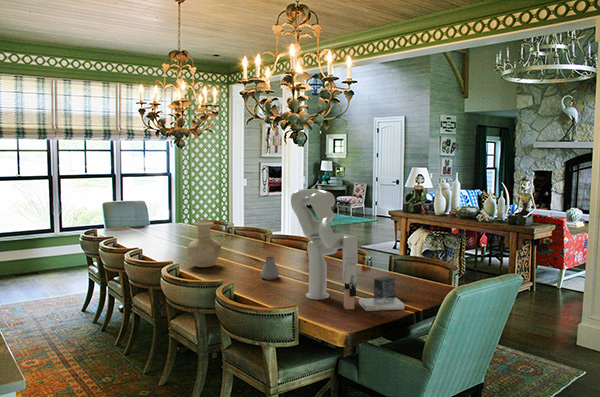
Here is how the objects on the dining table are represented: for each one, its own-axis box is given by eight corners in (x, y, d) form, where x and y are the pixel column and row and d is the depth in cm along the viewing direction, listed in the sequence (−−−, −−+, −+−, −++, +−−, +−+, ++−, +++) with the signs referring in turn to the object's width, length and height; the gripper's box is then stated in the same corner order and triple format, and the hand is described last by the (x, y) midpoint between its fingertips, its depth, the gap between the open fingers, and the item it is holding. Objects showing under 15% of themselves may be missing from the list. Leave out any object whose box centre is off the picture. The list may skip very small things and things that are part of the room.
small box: (386, 293, 272) (386, 275, 271) (395, 296, 267) (395, 277, 266) (373, 297, 265) (373, 278, 264) (382, 300, 260) (382, 280, 259)
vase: (221, 269, 324) (220, 225, 321) (186, 270, 321) (185, 225, 318) (221, 262, 346) (220, 220, 343) (188, 263, 343) (188, 220, 340)
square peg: (343, 306, 249) (343, 289, 248) (351, 306, 249) (352, 288, 248) (345, 309, 244) (345, 291, 243) (354, 308, 245) (354, 291, 244)
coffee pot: (271, 274, 312) (271, 251, 311) (282, 278, 303) (283, 254, 302) (243, 280, 298) (243, 256, 297) (254, 284, 290) (254, 259, 288)
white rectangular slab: (359, 303, 254) (359, 298, 253) (396, 302, 257) (396, 297, 257) (365, 310, 242) (365, 305, 242) (404, 309, 245) (404, 304, 245)
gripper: (338, 257, 252) (338, 290, 253) (347, 263, 235) (347, 299, 236) (352, 256, 253) (353, 289, 254) (362, 263, 236) (362, 298, 237)
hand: (350, 294), depth 245 cm, fingers open, 9 cm apart
